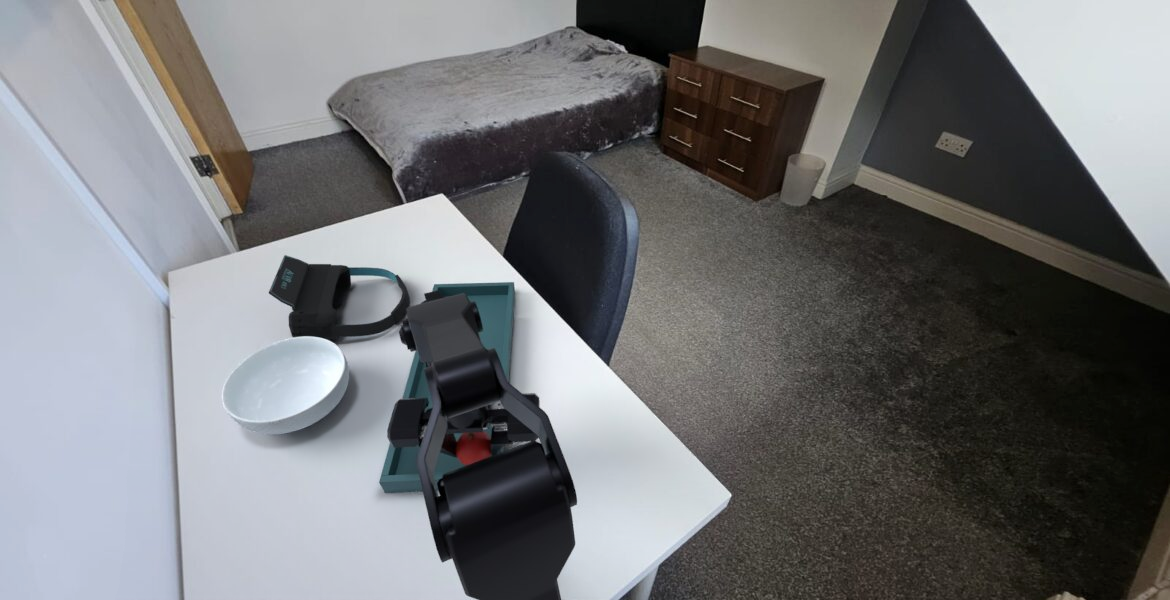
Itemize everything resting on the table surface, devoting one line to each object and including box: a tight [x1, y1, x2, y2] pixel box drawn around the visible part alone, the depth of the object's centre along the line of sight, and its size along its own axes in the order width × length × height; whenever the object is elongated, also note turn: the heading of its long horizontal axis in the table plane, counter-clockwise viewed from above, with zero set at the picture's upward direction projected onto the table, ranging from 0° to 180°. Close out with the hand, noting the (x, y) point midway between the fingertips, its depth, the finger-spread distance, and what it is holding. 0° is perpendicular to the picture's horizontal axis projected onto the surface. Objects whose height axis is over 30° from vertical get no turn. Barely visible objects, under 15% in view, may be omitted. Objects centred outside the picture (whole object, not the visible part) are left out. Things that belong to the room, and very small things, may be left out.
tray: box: [378, 281, 516, 494], centre depth 80 cm, size 42×16×3 cm, turn 4°
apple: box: [456, 431, 491, 465], centre depth 65 cm, size 5×5×6 cm
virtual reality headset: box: [268, 254, 411, 340], centre depth 90 cm, size 19×22×10 cm
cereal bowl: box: [221, 336, 350, 435], centre depth 74 cm, size 17×17×7 cm
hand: (475, 453), depth 66 cm, fingers closed on apple, 5 cm apart
